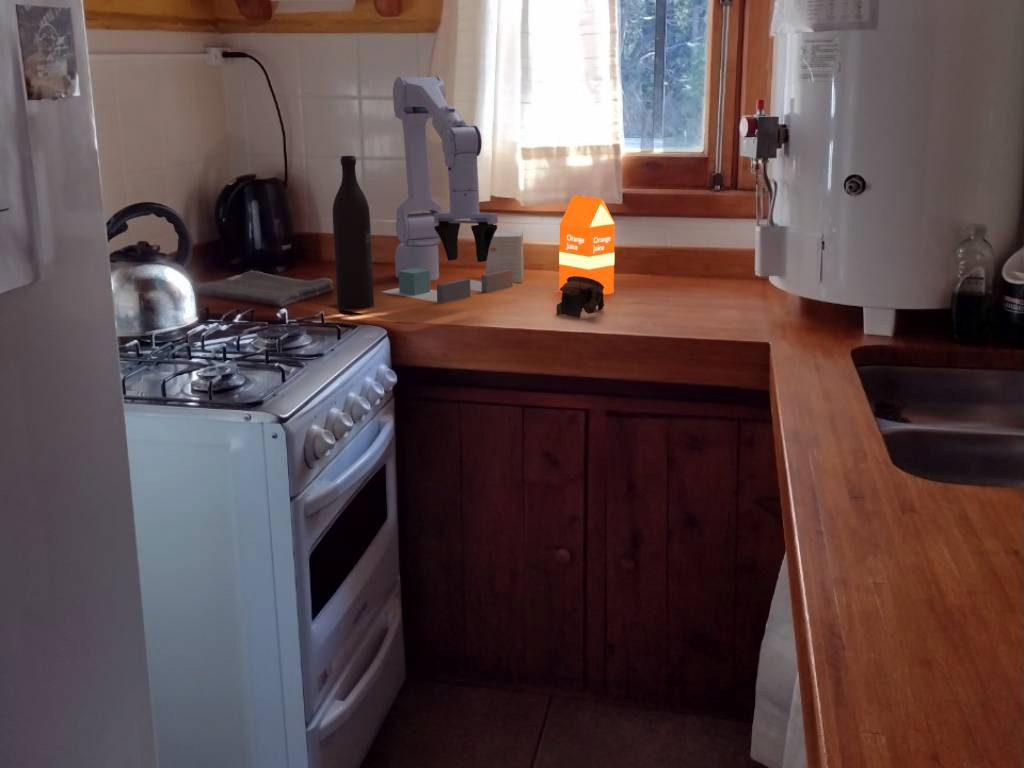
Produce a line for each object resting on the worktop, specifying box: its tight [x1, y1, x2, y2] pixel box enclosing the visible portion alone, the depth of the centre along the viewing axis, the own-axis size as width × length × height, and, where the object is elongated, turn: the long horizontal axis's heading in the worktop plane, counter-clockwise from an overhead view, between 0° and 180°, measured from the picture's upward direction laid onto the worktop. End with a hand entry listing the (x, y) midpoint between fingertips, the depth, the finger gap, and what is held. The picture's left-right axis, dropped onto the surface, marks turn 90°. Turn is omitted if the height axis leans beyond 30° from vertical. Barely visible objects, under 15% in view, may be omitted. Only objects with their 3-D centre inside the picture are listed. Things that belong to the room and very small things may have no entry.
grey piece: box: [381, 278, 471, 304], centre depth 217 cm, size 18×8×4 cm, turn 49°
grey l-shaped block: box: [470, 269, 514, 294], centre depth 225 cm, size 14×8×4 cm, turn 49°
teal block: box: [398, 268, 431, 295], centre depth 219 cm, size 4×4×4 cm
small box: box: [485, 231, 525, 284], centre depth 236 cm, size 8×6×10 cm
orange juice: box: [558, 195, 616, 296], centre depth 221 cm, size 8×9×20 cm
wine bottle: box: [332, 155, 375, 316], centre depth 204 cm, size 7×7×30 cm
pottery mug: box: [556, 276, 605, 319], centre depth 204 cm, size 12×10×8 cm
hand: (467, 260), depth 208 cm, fingers open, 7 cm apart
